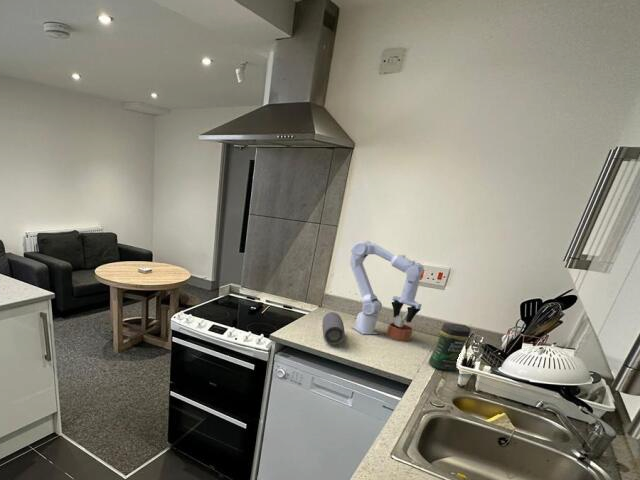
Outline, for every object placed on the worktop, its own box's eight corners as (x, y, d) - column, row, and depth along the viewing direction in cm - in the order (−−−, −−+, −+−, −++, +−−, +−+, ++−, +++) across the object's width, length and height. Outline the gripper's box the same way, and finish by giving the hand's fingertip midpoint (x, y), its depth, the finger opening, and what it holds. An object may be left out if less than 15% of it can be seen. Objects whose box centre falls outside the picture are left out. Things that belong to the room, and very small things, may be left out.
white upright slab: (393, 324, 186) (398, 307, 183) (397, 324, 186) (401, 307, 183) (403, 329, 179) (408, 312, 176) (406, 329, 180) (411, 312, 176)
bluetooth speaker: (319, 329, 192) (323, 309, 188) (339, 332, 190) (344, 312, 186) (320, 345, 172) (325, 323, 168) (342, 348, 170) (348, 327, 166)
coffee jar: (434, 370, 156) (450, 326, 149) (425, 361, 163) (440, 319, 156) (459, 372, 156) (476, 329, 148) (448, 364, 163) (464, 322, 156)
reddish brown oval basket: (407, 343, 183) (411, 332, 181) (383, 336, 189) (386, 326, 186) (412, 335, 194) (416, 325, 191) (389, 330, 199) (392, 319, 197)
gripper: (390, 287, 181) (383, 315, 186) (415, 295, 169) (407, 324, 174) (402, 286, 183) (395, 314, 189) (428, 294, 171) (419, 324, 176)
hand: (401, 319), depth 181 cm, fingers closed on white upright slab, 7 cm apart
